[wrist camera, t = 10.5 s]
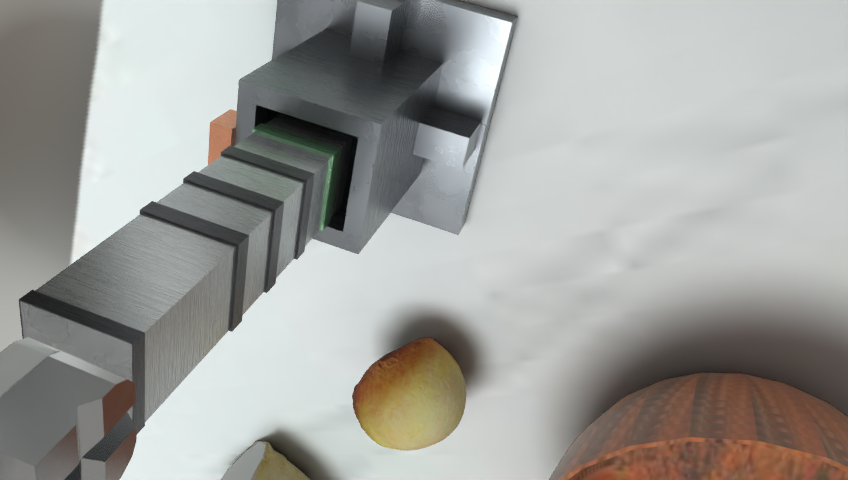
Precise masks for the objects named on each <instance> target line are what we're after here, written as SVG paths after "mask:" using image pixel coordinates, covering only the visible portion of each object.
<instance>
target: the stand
mask: <svg viewBox="0 0 848 480" xmlns="http://www.w3.org/2000/svg"><path fill="white" fill-rule="evenodd" d="M516 21H517V16H513V15H510V14H506V13H503V12H499V11H496V10H492V9H488V8H485V7H481V6H478V5H474V4H471V3H467V2H464V1H460V0H278V1H277V12H276V22H275V33H274V44H273V55H272V61H270V62H268V63H266V64H265V65H263V66H261V67H260V68H258V69H256V70H255V71H253V72H251V73H250V74H248V75H246V76H245V77H243V78H241V79H240V80H239V89H238V103H237V111H234V110H231V109H230V110H229V111H227V112H226V113H224V114H222V115H221V116H219V117H218V118H216V119H215V120H213V121H212V122H210V137H209V156H208V165H209V164H211V163H212V162H213V161H215V160H216V159H218V158H219V157H220V156H221V152H222V151H223V150H224V149H226V148H227V147H229V146H233V147H234V146H236V145H237V144H238V143H240V142H241V141H242V140H244V139H245V138H247V137H248V136H249V135H251V134H252V133H253V129H254V128H255V127H257V126H258V125H259V124H261V123H264V124H266V123H267V122H269V121H270V120H271V119H273V118H274V117H276V116H277V115H278V114H283V115H286V116H289V117H292V118H295V119H298V120H302V121H305V122H308V123H311V124H314V125H317V126H320V127H323V128H327V129H330V130H333V131H336V132H339V133H342V134H345V135H349V136H352V137H353V138H352V145H351V151H350V158H349V164H348V170H347V177H346V183H345V189H344V196H343V202H342V206H341V207H340V208H339V209H338V210H337V212H336V213H335V214H334V215H333V216H332V217H331V220H330V223H329V224H328V226H327V227H326V228H325V229H324V230H323V231H322V230H319V231H318V232H317V234H316V235H315V236H314V237H313V239H316V240H319V241H321V242H324V243H327V244H330V245H333V246H336V247H339V248H342V249H345V250H347V251H350V252H353V253H356V254H359V253H360V251H361V250H362V249H363V247H364V246H365V245H366V244H367V242H368V241H369V240H370V238H371V237H372V236H373V234H374V233H375V232H376V231H377V229H378V228H379V227H380V225H381V224H382V223H383V222H384V220H385V219H386V218H387V216H388V215H389V214H390V213H394V214H397V215H400V216H403V217H406V218H409V219H412V220H415V221H418V222H421V223H424V224H427V225H430V226H433V227H436V228H439V229H442V230H445V231H448V232H451V233H454V234H457V235H458V234H459V233H460V231H461V229H462V227H463V226H464V223H465V220H466V216H467V212H468V208H469V204H470V200H471V196H472V192H473V188H474V185H475V181H476V177H477V173H478V169H479V165H480V161H481V157H482V153H483V150H484V146H485V142H486V138H487V134H488V130H489V126H490V122H491V118H492V115H493V111H494V107H495V103H496V99H497V95H498V91H499V87H500V83H501V80H502V76H503V72H504V68H505V64H506V60H507V56H508V52H509V48H510V44H511V41H512V37H513V33H514V29H515V25H516Z"/></svg>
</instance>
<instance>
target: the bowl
mask: <svg viewBox="0 0 848 480" xmlns="http://www.w3.org/2000/svg"><path fill="white" fill-rule="evenodd" d="M549 480H848V417H847V416H845V415H844V414H843V413H842V412H840V411H839V410H838V409H836V408H835V407H834V406H832V405H831V404H829V403H827V402H825V401H823V400H821V399H819V398H816V397H814V396H812V395H810V394H808V393H805V392H803V391H801V390H799V389H797V388H794V387H792V386H790V385H788V384H785V383H782V382H777V381H773V380H768V379H764V378H759V377H755V376H751V375H746V374H735V373H697V374H692V375H686V376H681V377H676V378H670V379H665V380H661V381H659V382H657V383H654V384H652V385H650V386H647V387H645V388H643V389H641V390H638V391H636V392H634V393H631V394H629V395H627V396H625V397H624V398H622V399H621V400H619V401H618V402H617V403H616V404H614V405H613V406H612V407H611V408H609V409H608V410H607V411H606V412H605V413H603V414H602V415H601V416H600V417H598V418H597V419H596V420H595V421H594V422H592V423H591V424H590V425H589V426H588V427H587V428H586V429H585V430H584V431H583V432H582V433H581V434H580V435H579V436H578V437H577V438H576V440H575V441H574V442H573V443H572V445H571V446H570V447H569V449H568V450H567V452H566V453H565V455H564V456H563V458H562V459H561V461H560V462H559V464H558V466H557V467H556V469H555V470H554V472H553V474H552V475H551V477H550V478H549Z"/></svg>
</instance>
